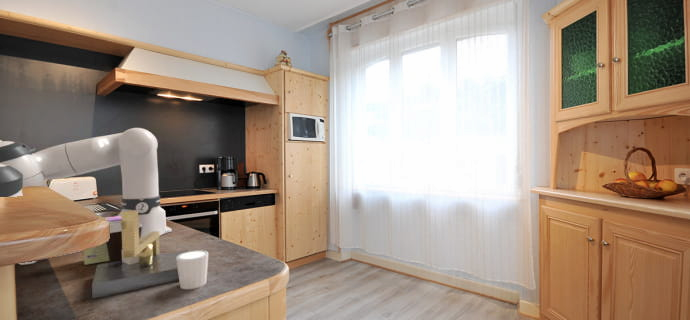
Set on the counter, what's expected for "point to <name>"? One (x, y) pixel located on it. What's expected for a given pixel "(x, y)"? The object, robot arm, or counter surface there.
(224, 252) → the counter surface
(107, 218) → the box
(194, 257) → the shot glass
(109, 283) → the dark grey base plate
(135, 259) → the cover
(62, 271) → the counter surface
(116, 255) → the coffee mug
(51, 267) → the counter surface
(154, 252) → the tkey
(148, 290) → the counter surface
